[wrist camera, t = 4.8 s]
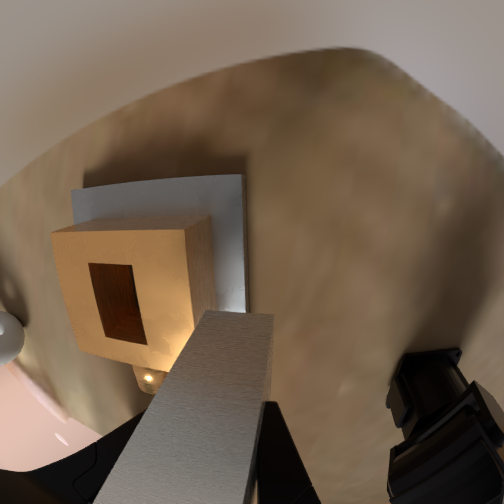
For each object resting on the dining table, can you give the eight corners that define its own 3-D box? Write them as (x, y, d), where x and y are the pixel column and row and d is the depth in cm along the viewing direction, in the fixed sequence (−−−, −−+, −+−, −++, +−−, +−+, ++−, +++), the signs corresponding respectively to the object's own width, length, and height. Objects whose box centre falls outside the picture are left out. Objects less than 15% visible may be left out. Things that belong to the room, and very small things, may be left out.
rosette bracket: (245, 174, 18) (222, 174, 12) (251, 364, 22) (237, 417, 16) (82, 188, 20) (30, 197, 14) (111, 343, 24) (77, 378, 18)
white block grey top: (274, 314, 9) (216, 612, 1) (270, 395, 11) (233, 602, 2) (206, 309, 10) (65, 553, 1) (214, 389, 11) (141, 578, 2)
